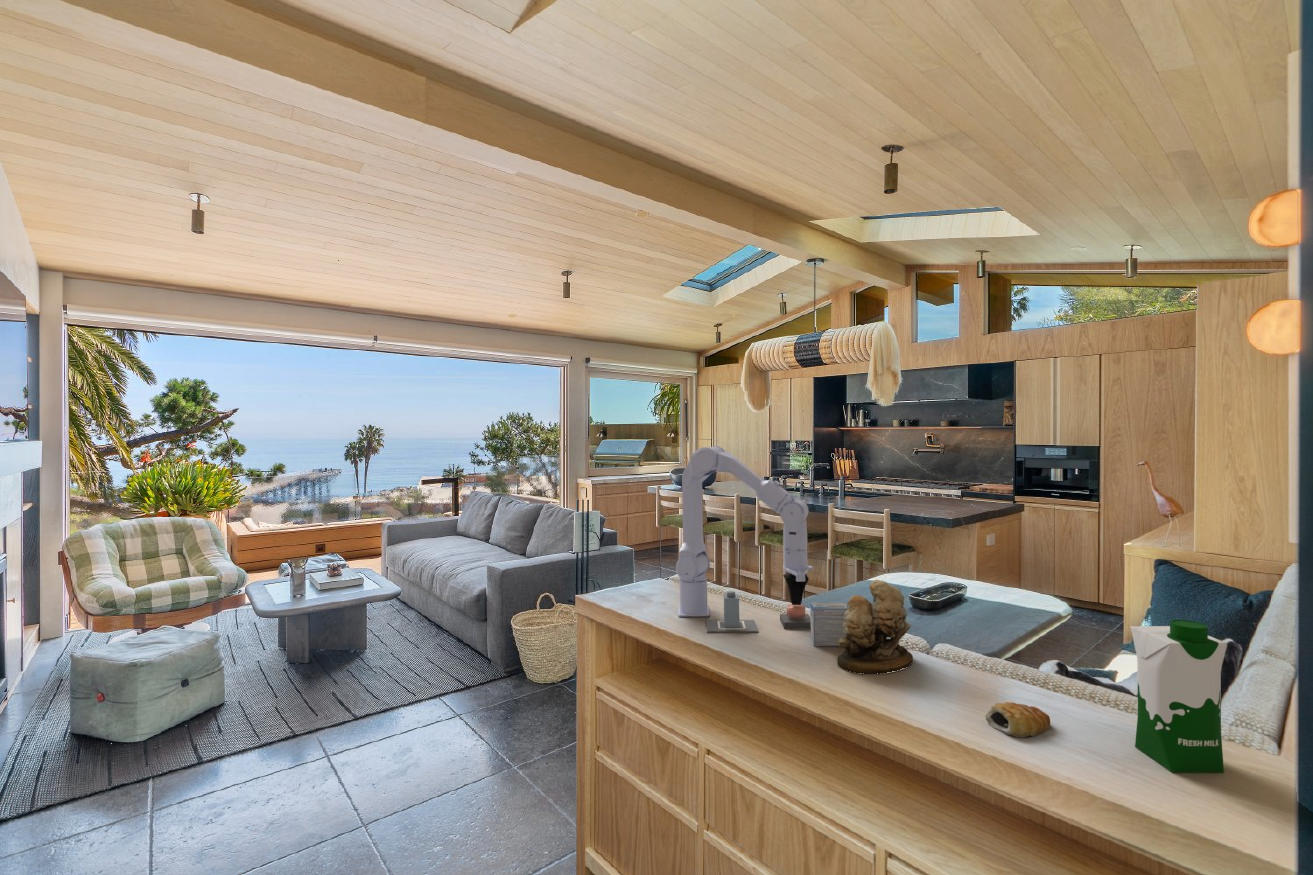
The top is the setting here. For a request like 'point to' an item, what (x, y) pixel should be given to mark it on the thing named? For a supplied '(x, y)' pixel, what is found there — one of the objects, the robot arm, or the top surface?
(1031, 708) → the pastry
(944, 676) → the top surface
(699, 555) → the robot arm
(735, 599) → the grey rectangular block
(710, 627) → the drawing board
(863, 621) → the owl figurine
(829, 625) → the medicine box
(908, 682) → the top surface
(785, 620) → the button base
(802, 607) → the button
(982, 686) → the top surface
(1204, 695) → the milk carton
